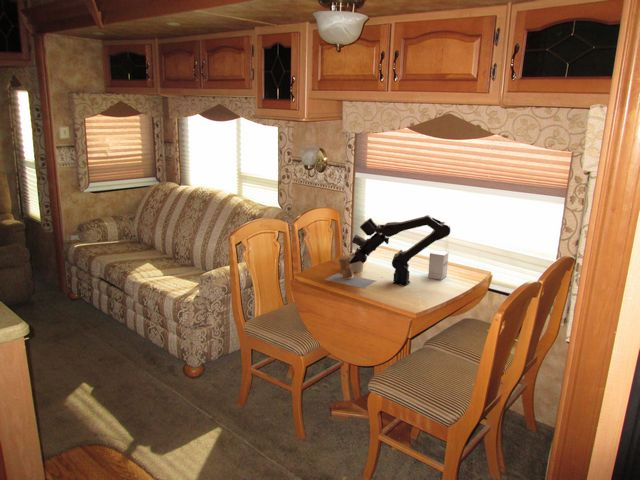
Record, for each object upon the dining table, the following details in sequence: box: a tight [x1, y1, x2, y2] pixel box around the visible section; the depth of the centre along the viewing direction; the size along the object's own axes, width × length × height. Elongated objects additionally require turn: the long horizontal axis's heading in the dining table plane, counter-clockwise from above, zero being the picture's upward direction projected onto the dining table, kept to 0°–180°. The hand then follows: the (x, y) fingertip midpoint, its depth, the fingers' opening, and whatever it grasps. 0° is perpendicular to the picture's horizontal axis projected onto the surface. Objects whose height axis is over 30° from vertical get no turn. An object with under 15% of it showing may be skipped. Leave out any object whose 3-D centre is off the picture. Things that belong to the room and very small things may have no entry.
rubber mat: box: [324, 272, 377, 289], centre depth 251 cm, size 22×13×1 cm, turn 57°
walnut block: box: [338, 255, 355, 279], centre depth 253 cm, size 4×4×10 cm
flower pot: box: [347, 252, 365, 274], centre depth 265 cm, size 9×9×9 cm
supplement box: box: [427, 250, 449, 281], centre depth 257 cm, size 7×7×13 cm
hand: (350, 262), depth 252 cm, fingers closed
